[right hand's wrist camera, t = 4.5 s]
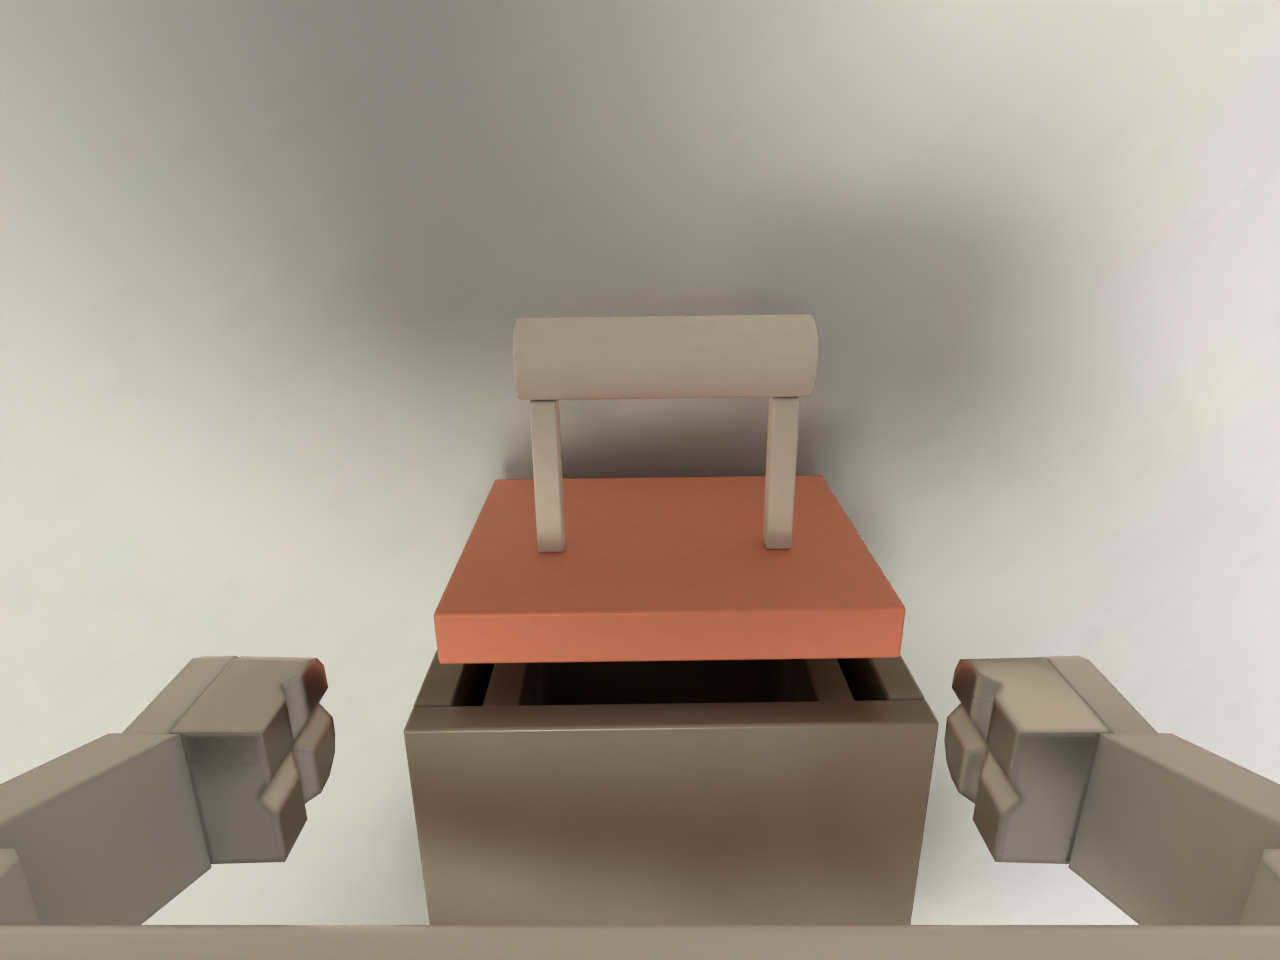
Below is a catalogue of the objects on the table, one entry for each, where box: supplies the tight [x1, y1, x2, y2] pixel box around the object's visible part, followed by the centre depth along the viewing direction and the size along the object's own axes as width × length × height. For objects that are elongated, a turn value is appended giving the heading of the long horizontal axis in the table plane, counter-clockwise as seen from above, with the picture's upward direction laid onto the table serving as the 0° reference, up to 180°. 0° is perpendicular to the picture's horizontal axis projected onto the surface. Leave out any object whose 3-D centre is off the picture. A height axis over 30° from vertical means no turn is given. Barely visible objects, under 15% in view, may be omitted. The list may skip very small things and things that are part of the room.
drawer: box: [434, 314, 905, 706], centre depth 22 cm, size 20×10×8 cm, turn 1°
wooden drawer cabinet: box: [404, 649, 939, 925], centre depth 24 cm, size 16×11×10 cm, turn 1°
